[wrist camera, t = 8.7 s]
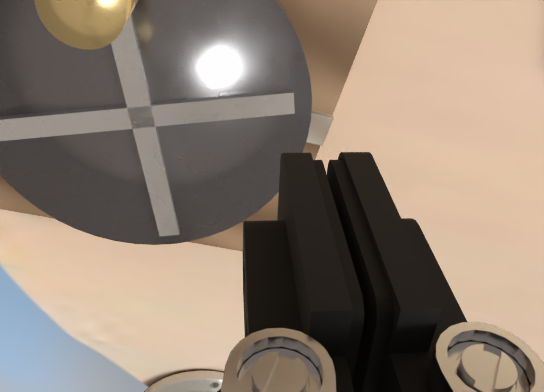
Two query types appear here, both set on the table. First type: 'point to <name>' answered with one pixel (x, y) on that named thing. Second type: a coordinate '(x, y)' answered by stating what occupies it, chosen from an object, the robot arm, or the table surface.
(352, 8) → the valve base
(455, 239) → the table surface
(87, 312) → the table surface
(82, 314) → the table surface
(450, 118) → the table surface
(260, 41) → the handwheel
